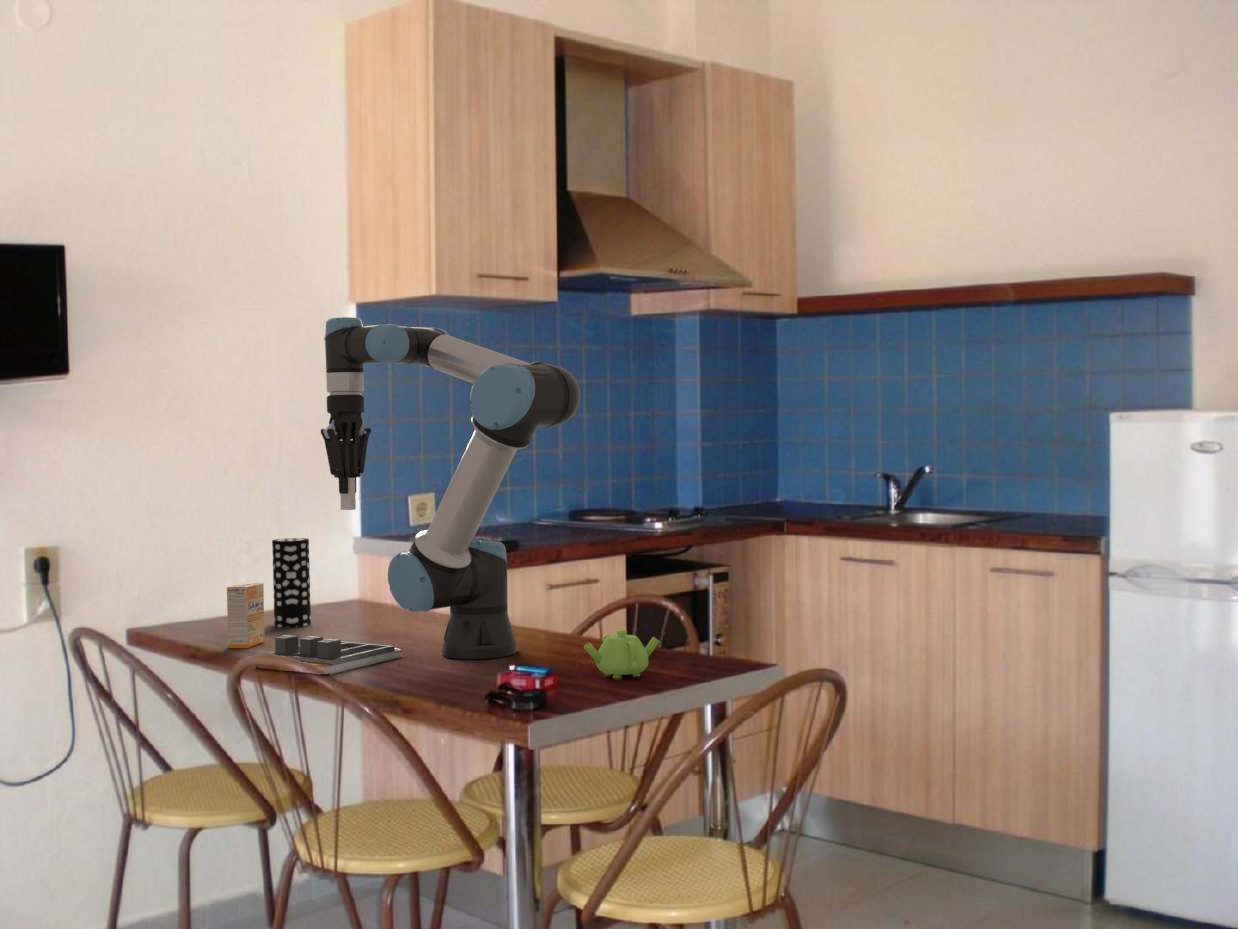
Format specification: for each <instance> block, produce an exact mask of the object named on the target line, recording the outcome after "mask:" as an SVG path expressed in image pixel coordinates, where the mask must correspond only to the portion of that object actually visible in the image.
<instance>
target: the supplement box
mask: <svg viewBox="0 0 1238 929" xmlns="http://www.w3.org/2000/svg"><path fill="white" fill-rule="evenodd" d="M264 587H265V586H264V582H244V583H240V584H236V585H230V586H227V587H226V606H227V608H226V610H227V648H229V649H248V648H251V647H255V646H257V645H259V644H263V643H265V606H264V604H265V602H264V601H265V599H264V598H265V596H264V594H265V592H264V591H265V590H264Z"/></svg>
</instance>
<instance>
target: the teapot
mask: <svg viewBox="0 0 1238 929" xmlns="http://www.w3.org/2000/svg"><path fill="white" fill-rule="evenodd" d="M627 633H628V631H627V630H625V629H618V630H616V634H613V635H612V634H611V635H604V636H603V637H602V638H601V640H602V643H601V645H600V647H599V649H598V650H597V649H596V648H595V646H594V645H593V644H592V643H591V642H587V643H585V645H584V646H583V649H584V650H585V651H586V652H587V653H588V655H589V656H590V657H591V658H592V659H593V661H594V662H595V665H596V667H597V669H598V670H599V671H600V672H601V673H602V674H603V675H604V674H605V675H611V674H613V675H612V678H620V677H621V678H622V676H625V675H631V676H632V675H633V676H640V675H641V673H643V672H644V671H645V670H646V669H647V668H648V666H649V664H650V663H649V657H650V656H651V654H652V653H653V652H654V650H655V649H656V648H657V646H658V645H659V643H660V642H661V641H660V640H659V639H658V638H656V637H654V636H652V637H651V639H650V641H649V642H648V643H647V645H646V646H644V645H643V643H642V642H641V640H640V638H639V637H638V636H637V635H634V634H627ZM633 676H632V677H633Z"/></svg>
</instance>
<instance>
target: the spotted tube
mask: <svg viewBox="0 0 1238 929" xmlns="http://www.w3.org/2000/svg"><path fill="white" fill-rule="evenodd" d="M271 544H272V545H271V546H272V548H271V549H272V574H273V575H272V576H273V579H272V580H273V584H272V585H273V586H272V588H273V615H274V616H273V618H274V619H273V620H274V623H273V624H274V627H276V628H289V629H291V628H292V629H293V628H300V627H301V628H302V627H307V626H310V625H311V624H312V616H311V615H312V614H311V613H312V612H311V611H312V610H311V609H312V608H311V605H312V604H311V573H310V569H311V568H310V566H311V565H310V539H309V538H305V537H304V538H303V537H301V538H300V537H295V538H294V537H293V538H292V537H290V538H287V537H286V538H277V539H272V542H271Z"/></svg>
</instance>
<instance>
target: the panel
mask: <svg viewBox="0 0 1238 929" xmlns="http://www.w3.org/2000/svg"><path fill="white" fill-rule="evenodd" d="M298 646H299V653H296V654H292V655H280V654H276V650H275V651H272V652H270V653H271V654H275V655H278V656H286V657H289V658H292V659H295V660H299V661H301V662H307V663H309V664H312V665H313V666H315V667H317V668H319V669H322V670H324V671H325V672H328V673H330V675H333V674H337V673H341V672H342V673H343V672H346V671H350V670H355V669H358V668H362V667H365V666H366V667H368V666H371V665H374V664H378V663H382V662H386V661H390V660H395V659H399V658H402V657H403V656H402V655H403V654H402V649H400V648H398V647H395V645H388V644H387V645H384V644H378V643H377V644H376V643H375V644H374V643H366V642H365V643H364V642H363V643H362V642H355V641H354V642H351V641H341V657H340V658H335V659H331V660H330V659H320V658H318V656H313V657H300V645H298Z"/></svg>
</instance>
